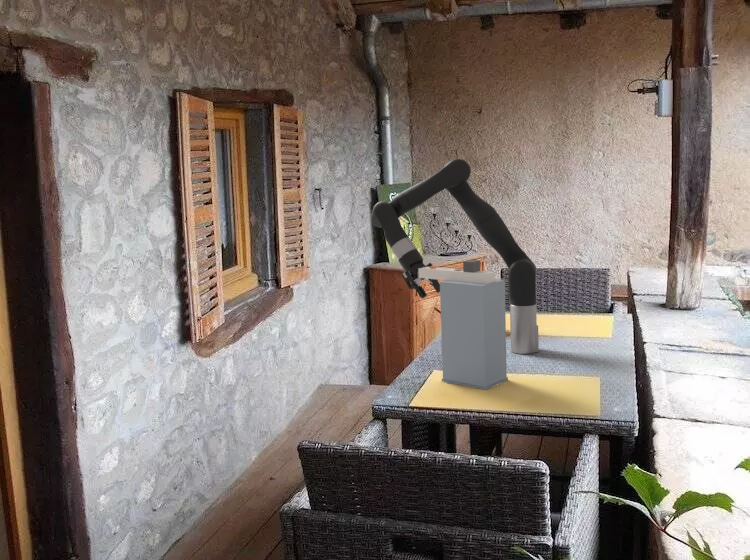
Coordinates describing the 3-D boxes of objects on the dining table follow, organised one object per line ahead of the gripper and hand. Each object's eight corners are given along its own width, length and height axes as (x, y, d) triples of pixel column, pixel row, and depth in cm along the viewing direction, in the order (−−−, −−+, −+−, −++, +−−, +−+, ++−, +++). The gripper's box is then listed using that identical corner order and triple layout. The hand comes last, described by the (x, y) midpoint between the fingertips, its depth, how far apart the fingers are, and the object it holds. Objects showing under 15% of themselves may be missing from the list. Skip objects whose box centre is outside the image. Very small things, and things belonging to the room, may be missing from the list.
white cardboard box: (419, 277, 249) (418, 258, 248) (427, 275, 253) (427, 256, 252) (487, 283, 232) (486, 263, 231) (495, 281, 236) (494, 261, 235)
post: (441, 381, 245) (438, 282, 239) (464, 371, 254) (461, 276, 249) (485, 390, 234) (483, 286, 228) (508, 379, 243) (506, 279, 238)
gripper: (413, 256, 268) (438, 295, 264) (387, 264, 257) (412, 304, 254) (426, 244, 263) (451, 283, 259) (400, 252, 252) (426, 293, 249)
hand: (432, 294), depth 257 cm, fingers open, 8 cm apart
